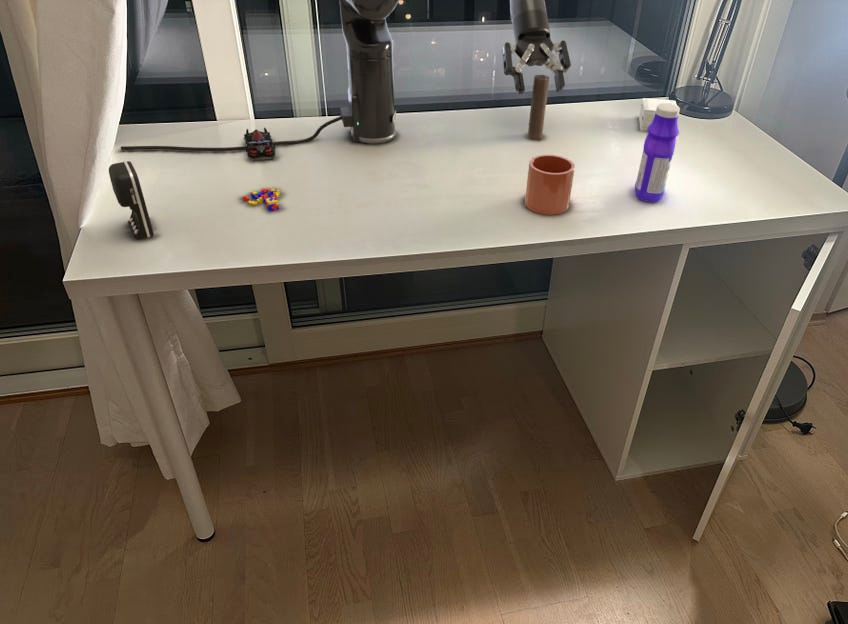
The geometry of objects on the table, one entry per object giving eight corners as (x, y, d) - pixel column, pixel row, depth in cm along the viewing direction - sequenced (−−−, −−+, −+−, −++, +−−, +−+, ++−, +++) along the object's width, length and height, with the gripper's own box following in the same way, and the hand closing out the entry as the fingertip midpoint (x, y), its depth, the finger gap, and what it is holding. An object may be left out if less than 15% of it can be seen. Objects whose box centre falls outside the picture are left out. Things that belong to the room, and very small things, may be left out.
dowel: (530, 140, 154) (536, 80, 146) (525, 134, 157) (531, 74, 148) (544, 139, 155) (551, 79, 147) (539, 133, 157) (546, 74, 149)
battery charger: (123, 223, 120) (103, 160, 113) (146, 219, 122) (128, 156, 114) (131, 243, 116) (111, 178, 108) (155, 237, 117) (137, 174, 110)
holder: (533, 216, 128) (538, 176, 123) (519, 195, 134) (523, 156, 129) (575, 213, 130) (581, 172, 125) (559, 192, 136) (564, 153, 131)
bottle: (663, 205, 134) (685, 115, 123) (632, 201, 134) (652, 111, 123) (662, 188, 139) (684, 101, 128) (633, 185, 140) (652, 97, 129)
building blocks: (274, 188, 132) (273, 180, 131) (290, 206, 127) (289, 198, 126) (240, 195, 129) (238, 187, 128) (255, 214, 124) (254, 206, 123)
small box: (637, 118, 167) (642, 97, 164) (671, 121, 167) (676, 100, 163) (639, 131, 162) (644, 109, 158) (674, 134, 161) (679, 112, 158)
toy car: (247, 162, 140) (243, 142, 137) (242, 138, 149) (239, 119, 146) (278, 159, 142) (275, 140, 139) (271, 135, 150) (268, 116, 148)
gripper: (502, 8, 145) (514, 84, 144) (566, 7, 148) (579, 81, 147) (492, 28, 152) (504, 101, 151) (554, 26, 155) (566, 97, 154)
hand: (541, 91), depth 149 cm, fingers open, 8 cm apart
